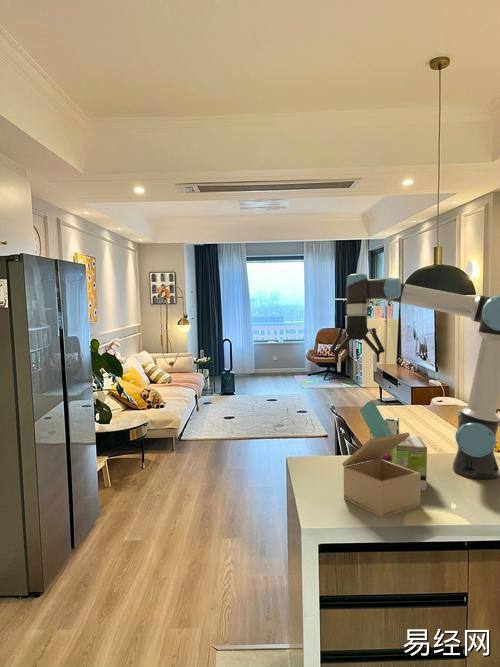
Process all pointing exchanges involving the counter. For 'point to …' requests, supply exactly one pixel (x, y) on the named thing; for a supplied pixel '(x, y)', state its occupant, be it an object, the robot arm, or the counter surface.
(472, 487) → the counter surface
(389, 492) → the carton
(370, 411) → the carton lid
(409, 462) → the tea box
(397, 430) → the candy bar box
